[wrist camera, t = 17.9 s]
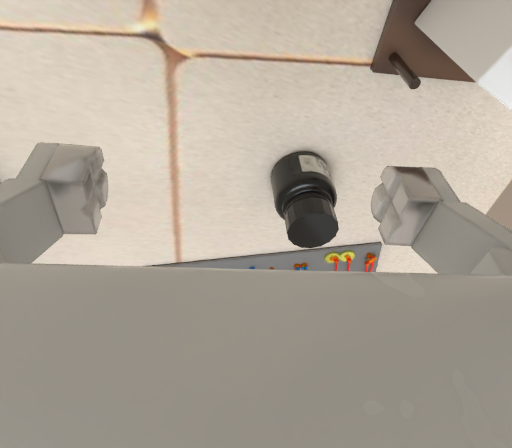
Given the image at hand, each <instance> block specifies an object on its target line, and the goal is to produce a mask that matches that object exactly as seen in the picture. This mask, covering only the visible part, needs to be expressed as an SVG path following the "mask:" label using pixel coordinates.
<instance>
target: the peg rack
mask: <svg viewBox="0 0 512 448" xmlns="http://www.w3.org/2000/svg"><path fill="white" fill-rule="evenodd" d="M430 2H431V0H393V3H392V6H391V9H390V12H389V15H388V18H387V21H386V24H385V27H384V29H383V32H382V35H381V38H380V41H379V44H378V47H377V50H376V53H375V56H374V59H373V62H372V65H371V70H372V71H373V72H375V73H385V74H395V75H400V76H401V77H402V78H403V80H404V81H405V82H406V84H407V85H408V86H409V87H410V89H416V88H418V87H419V85H420V83H421V81H420V79H419V78H418V77H426V78H436V79H447V80H457V81H467V82H475V81H474V80H473V79H472V78H471V77H470V76H469V75H468V74H467V73H466V72H465V71H464V70H463V69H462V68H461V67H460V66H459V65H457V64H456V63H455V62H454V61H453V60H452V59H451V58H450V57H449V56H448V55H447V54H446V53H445V52H444V51H443V50H442V49H441V48H439V47H438V46H437V45H436V44H435V43H434V42H433V41H432V40H431V39H430V38H429V37H428V36H427V35H426V34H425V33H424V32H423V31H421V30H420V29H419V28H418V27H417V26H416V25H415V21H416V20H417V18H418V17H419V16H420V14H421V13H422V12H423V11H424V9H425V8H426V7H427V6H428V4H429V3H430Z"/></svg>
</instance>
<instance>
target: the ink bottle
mask: <svg viewBox="0 0 512 448" xmlns="http://www.w3.org/2000/svg"><path fill="white" fill-rule="evenodd" d="M271 184H272V190H273V197H274V203H275V208H276V211H277V213H278V214H279V215H280V217H281V218H282V219H284V220H285V224H286V230H287V234H288V239H289V240H290V241H291V242H292V243H293V244H294V245H297V246H299V247H302V248H303V247H304V248H313V247H318V246H322V245H324V244H326V243H328V242H330V241H331V240H332V239H333V238H334V237H335V236H336V233H337V231H338V230H339V228H338V221H337V218H336V215H335V212H334V207H335V205H336V201H337V194H336V190H335V187H334V184H333V181H332V178H331V175H330V172H329V169H328V166H327V164H326V163H325V161H324V160H323V159H322V158H321V157H319V156H318V155H316V154H313V153H309V152H300V153H295V154H292V155H289V156H287V157H285V158H284V159H282V160H281V161H280V162H278V163H277V164H276V166H275V167H274V169H273V171H272V174H271Z"/></svg>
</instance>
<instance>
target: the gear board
mask: <svg viewBox="0 0 512 448" xmlns="http://www.w3.org/2000/svg"><path fill="white" fill-rule="evenodd" d="M381 246H382V243H371V244H362V245H352V246H342V247H333V248H323V249H313V250H304V251H294V252H284V253H275V254H265V255H255V256H246V257H236V258H226V259H217V260H207V261H198V262H188V263H178V264H169V265H159V266H149V267H187V268H226V269H269V270H311V271H350V272H376V268H377V263H378V259H379V255H380V251H381Z"/></svg>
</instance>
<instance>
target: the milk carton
mask: <svg viewBox="0 0 512 448" xmlns="http://www.w3.org/2000/svg"><path fill="white" fill-rule="evenodd" d="M415 25H416V26H417V27H418V28H419V29H420V30H421V31H423V32H424V33H425V34H426V35H427V36H428V37H429V38H430V39H431V40H432V41H433V42H434V43H435V44H436V45H437V46H438V47H439V48H441V49H442V50H443V51H444V52H445V53H446V54H447V55H448V56H449V57H450V58H451V59H452V60H453V61H454V62H455V63H456V64H457V65H459V66H460V67H461V68H462V69H463V70H464V71H465V72H466V73H467V74H468V75H469V76H470V77H471V78H472V79H473V80H474V81H475V82H477V84H479V85H480V86H481V87H482V88H484V89H485V90H486V91H487V92H489V93H490V94H491V95H492V96H494V97H495V98H496V99H497V100H499V101H500V102H501V103H502V104H504V105H505V106H506V107H507V108H509V109H510V110H511V111H512V0H431V2H430V3H429V4H428V6H427V7H426V8H425V9H424V11H423V12H422V13H421V14H420V16H419V17H418V18H417V20H416V21H415Z"/></svg>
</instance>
